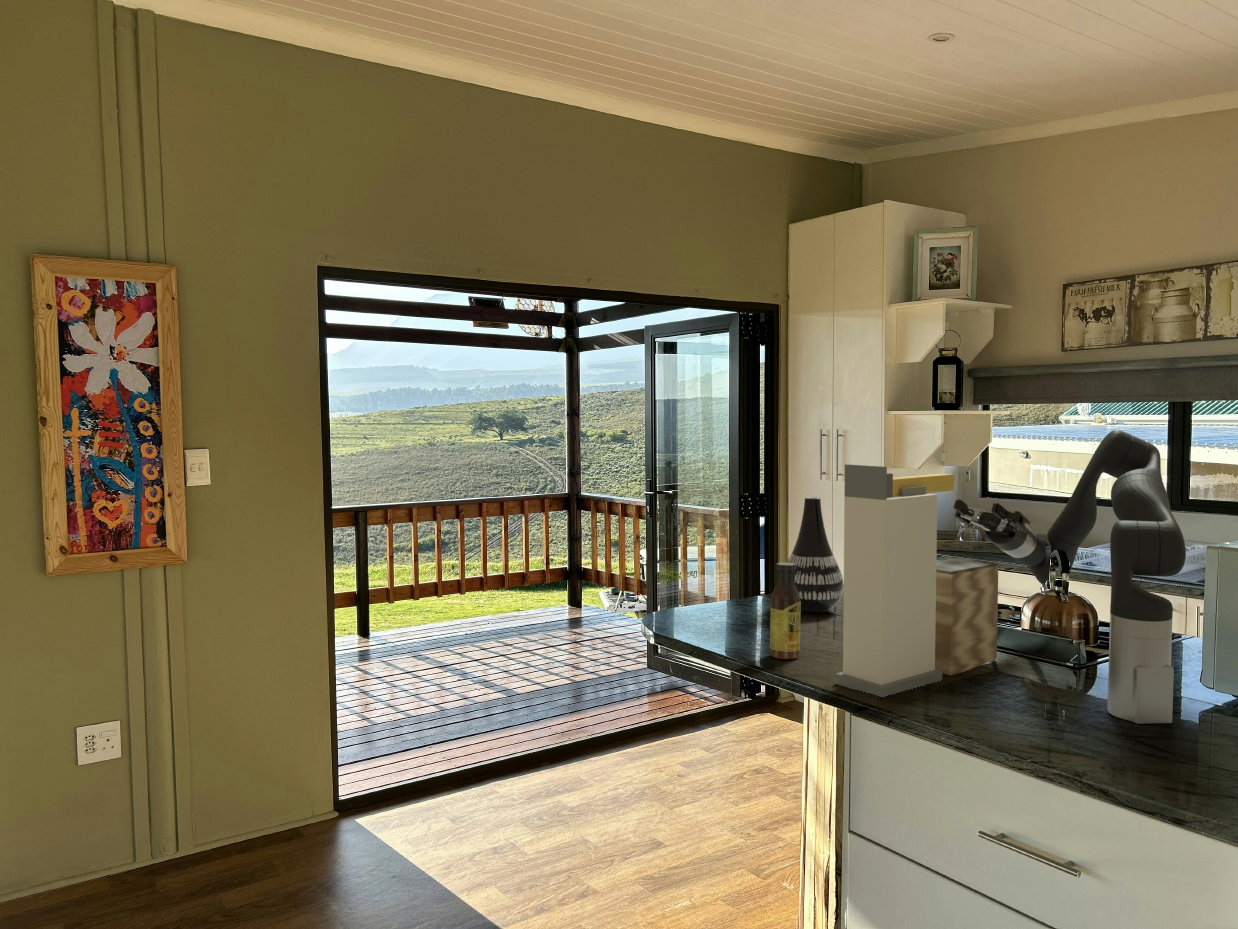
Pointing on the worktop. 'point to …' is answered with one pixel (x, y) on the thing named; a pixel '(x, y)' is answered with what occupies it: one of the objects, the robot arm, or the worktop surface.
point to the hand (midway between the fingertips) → (975, 505)
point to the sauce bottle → (785, 614)
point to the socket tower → (888, 585)
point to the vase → (815, 563)
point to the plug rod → (920, 483)
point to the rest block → (965, 614)
